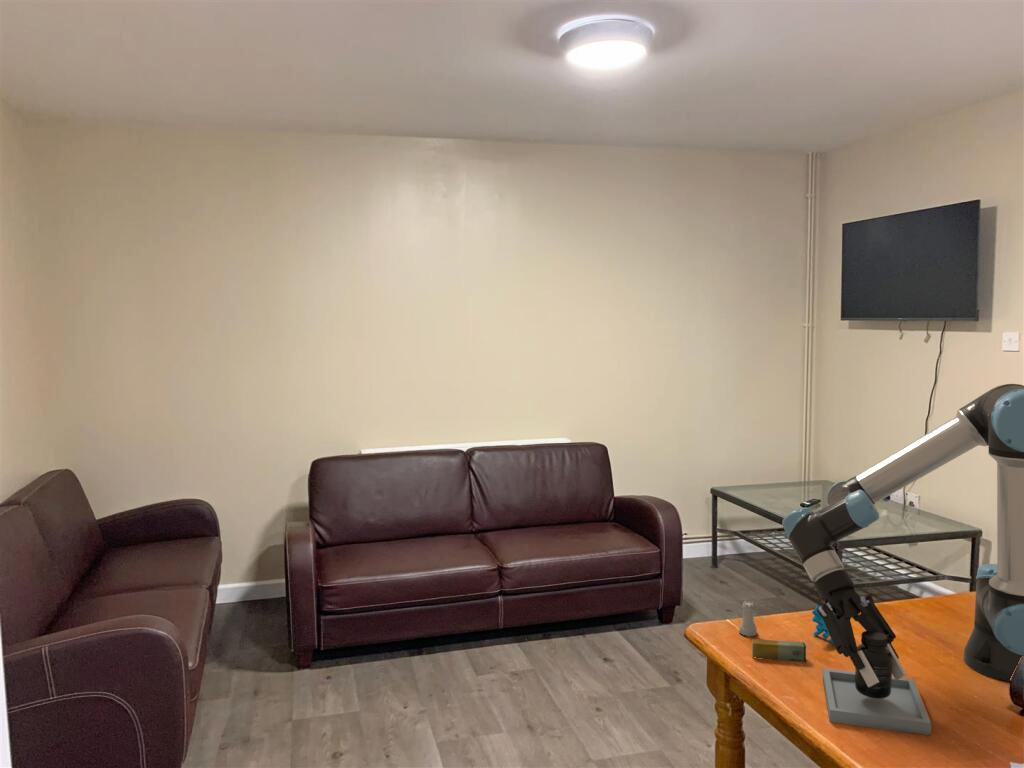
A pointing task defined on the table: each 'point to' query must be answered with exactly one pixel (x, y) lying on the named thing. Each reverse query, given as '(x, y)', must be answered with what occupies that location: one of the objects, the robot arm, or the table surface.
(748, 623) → the rook chess piece
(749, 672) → the table surface
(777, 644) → the medication box
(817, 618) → the blue bumpy irregular piece
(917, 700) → the tray
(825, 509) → the robot arm
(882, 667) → the supplement bottle
